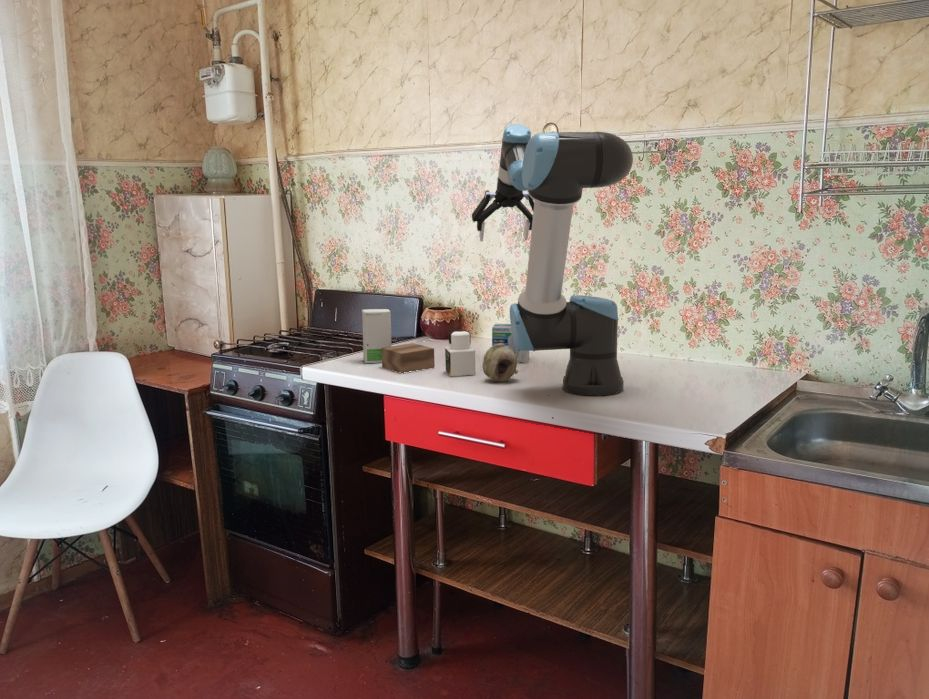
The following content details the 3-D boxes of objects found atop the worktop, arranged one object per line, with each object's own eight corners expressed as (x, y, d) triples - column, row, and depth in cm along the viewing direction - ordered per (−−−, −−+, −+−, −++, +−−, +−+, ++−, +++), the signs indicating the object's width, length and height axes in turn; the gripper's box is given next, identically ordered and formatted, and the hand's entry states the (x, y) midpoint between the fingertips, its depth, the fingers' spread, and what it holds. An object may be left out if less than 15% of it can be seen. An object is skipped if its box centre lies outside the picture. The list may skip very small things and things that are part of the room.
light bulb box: (491, 362, 222) (491, 326, 219) (494, 358, 228) (494, 323, 226) (527, 363, 220) (527, 327, 218) (529, 358, 226) (529, 323, 224)
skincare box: (365, 364, 223) (362, 312, 220) (363, 359, 229) (360, 309, 226) (393, 362, 225) (391, 310, 222) (390, 357, 231) (388, 307, 228)
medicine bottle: (445, 371, 211) (444, 329, 209) (470, 369, 213) (469, 328, 210) (450, 377, 205) (449, 333, 202) (475, 375, 206) (475, 332, 204)
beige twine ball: (476, 380, 200) (476, 344, 198) (498, 375, 206) (497, 339, 204) (503, 386, 193) (502, 348, 191) (524, 380, 199) (524, 343, 197)
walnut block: (434, 368, 216) (434, 348, 215) (402, 374, 210) (401, 353, 209) (414, 362, 225) (413, 343, 224) (382, 368, 218) (381, 347, 217)
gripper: (551, 170, 215) (541, 229, 231) (465, 171, 212) (460, 231, 227) (557, 185, 210) (545, 245, 226) (469, 186, 207) (463, 246, 222)
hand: (503, 238), depth 227 cm, fingers open, 13 cm apart
